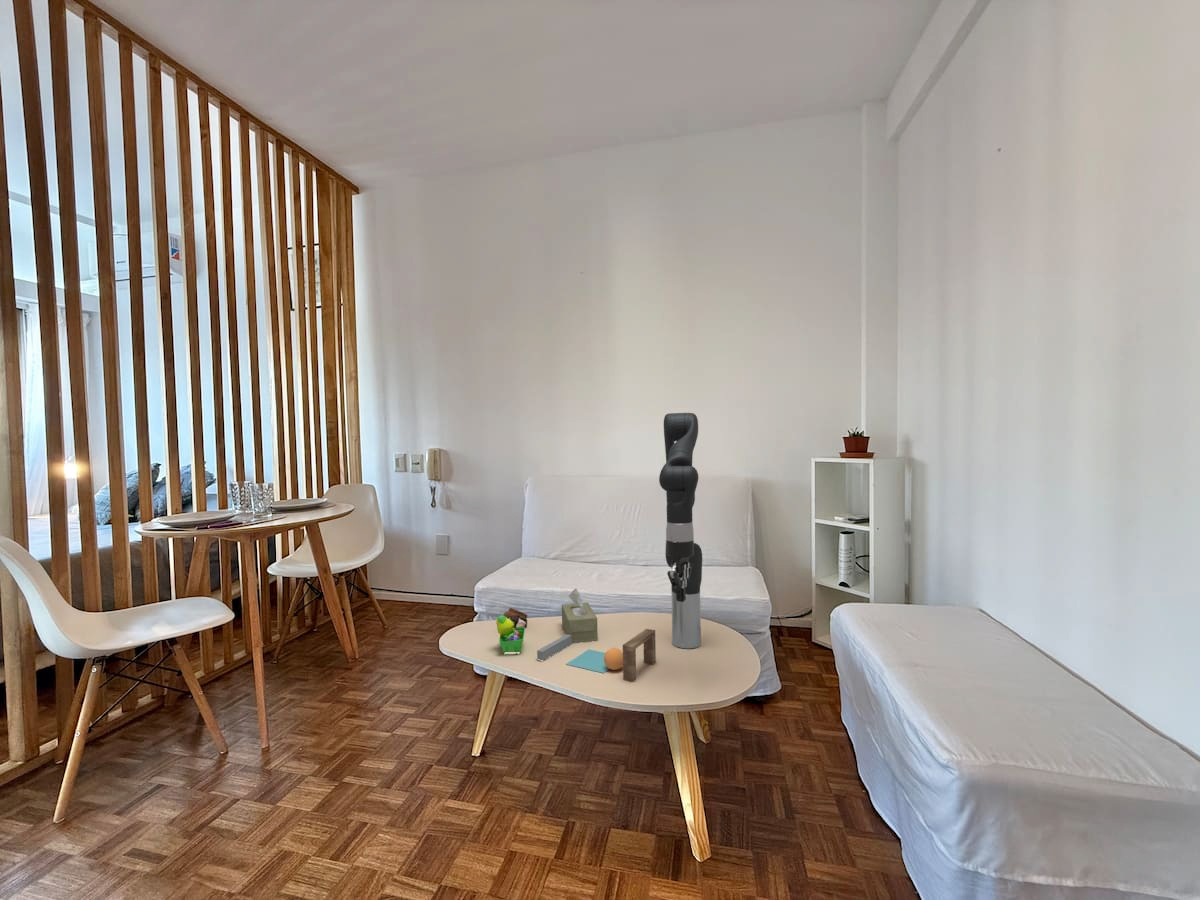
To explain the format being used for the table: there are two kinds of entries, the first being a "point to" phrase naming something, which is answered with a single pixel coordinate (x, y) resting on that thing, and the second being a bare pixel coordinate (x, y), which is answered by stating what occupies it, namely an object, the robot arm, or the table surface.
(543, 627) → the table surface
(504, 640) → the fruit basket
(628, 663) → the bridge
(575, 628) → the tissue box
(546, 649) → the stopper wall
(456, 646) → the table surface
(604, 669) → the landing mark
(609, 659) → the orange ball
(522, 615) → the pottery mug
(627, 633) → the table surface
